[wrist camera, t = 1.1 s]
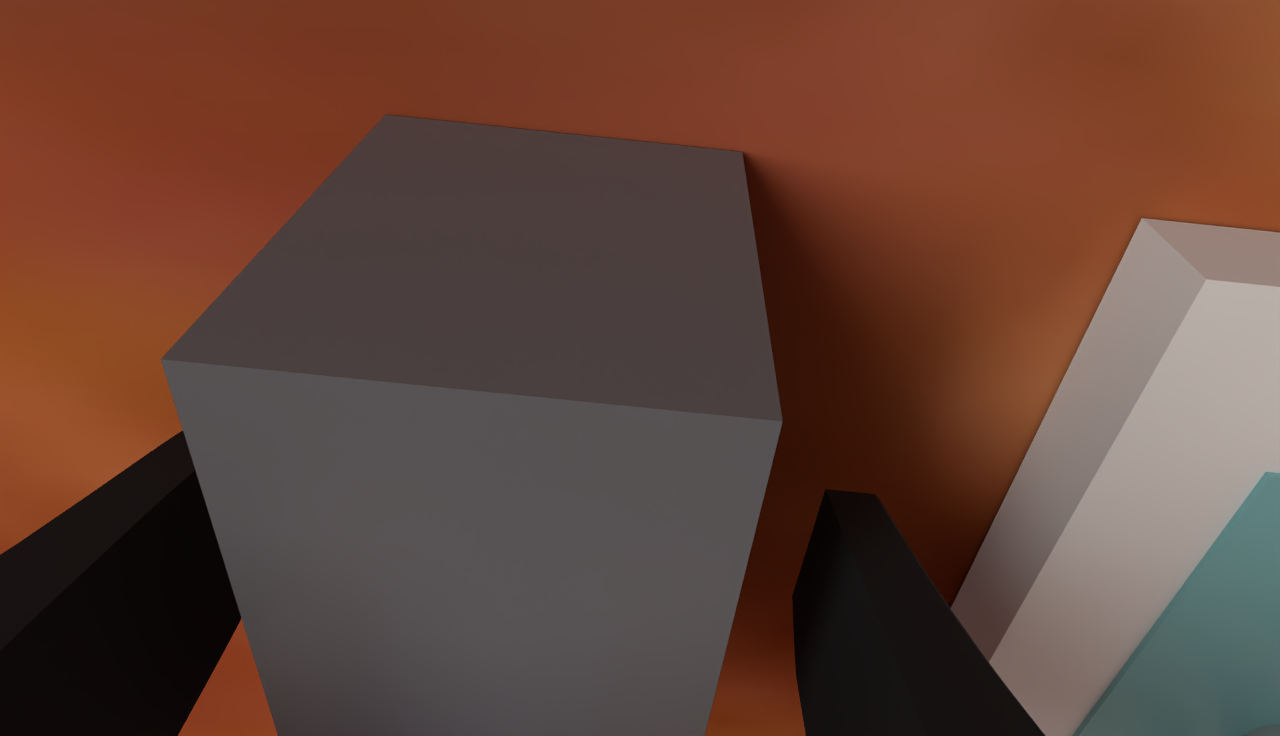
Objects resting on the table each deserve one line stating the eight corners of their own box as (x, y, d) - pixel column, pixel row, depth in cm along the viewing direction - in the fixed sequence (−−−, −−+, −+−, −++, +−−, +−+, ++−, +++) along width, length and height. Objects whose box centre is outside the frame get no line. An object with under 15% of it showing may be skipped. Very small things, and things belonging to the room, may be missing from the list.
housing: (664, 613, 15) (655, 933, 11) (429, 590, 15) (329, 903, 10) (742, 152, 10) (783, 421, 6) (385, 114, 10) (160, 359, 5)
